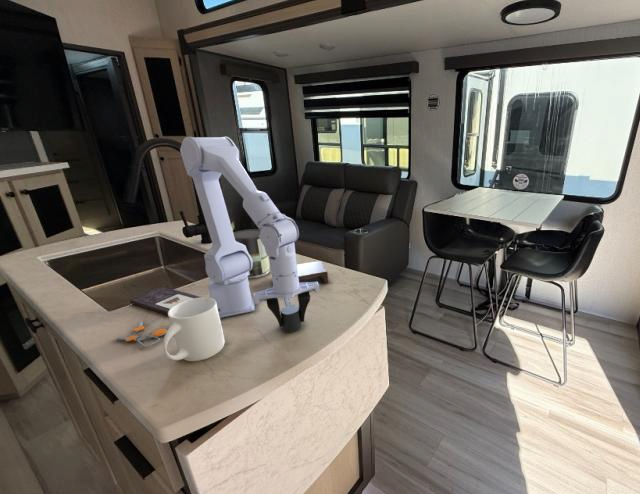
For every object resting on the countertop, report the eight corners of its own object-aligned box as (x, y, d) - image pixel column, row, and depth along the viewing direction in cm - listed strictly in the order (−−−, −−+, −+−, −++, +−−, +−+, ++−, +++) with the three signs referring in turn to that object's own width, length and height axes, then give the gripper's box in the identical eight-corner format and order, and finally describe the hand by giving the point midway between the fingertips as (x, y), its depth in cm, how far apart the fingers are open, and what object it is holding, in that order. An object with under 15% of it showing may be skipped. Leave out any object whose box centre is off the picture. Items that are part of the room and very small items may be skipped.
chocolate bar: (163, 286, 96) (203, 297, 90) (163, 289, 97) (204, 300, 90) (129, 299, 89) (171, 313, 82) (130, 302, 89) (172, 316, 82)
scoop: (303, 329, 77) (300, 311, 75) (284, 334, 75) (281, 316, 74) (297, 311, 85) (294, 294, 83) (279, 315, 83) (277, 298, 82)
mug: (154, 369, 64) (139, 323, 60) (204, 335, 75) (194, 295, 71) (188, 377, 62) (174, 331, 58) (234, 341, 73) (225, 300, 69)
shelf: (275, 292, 95) (273, 280, 94) (272, 280, 104) (270, 268, 102) (328, 282, 102) (327, 271, 100) (321, 271, 110) (320, 260, 109)
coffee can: (249, 281, 102) (241, 240, 98) (231, 274, 108) (223, 234, 103) (276, 271, 110) (271, 232, 105) (259, 264, 116) (253, 227, 111)
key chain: (176, 333, 75) (175, 330, 75) (141, 351, 69) (140, 348, 69) (144, 321, 80) (143, 318, 80) (109, 336, 74) (108, 333, 74)
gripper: (250, 284, 67) (260, 338, 71) (320, 272, 72) (324, 323, 77) (249, 272, 73) (258, 323, 77) (313, 261, 78) (318, 309, 83)
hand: (291, 322), depth 78 cm, fingers closed on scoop, 4 cm apart
